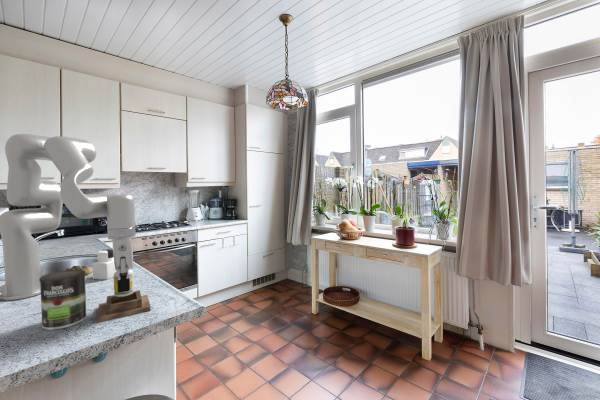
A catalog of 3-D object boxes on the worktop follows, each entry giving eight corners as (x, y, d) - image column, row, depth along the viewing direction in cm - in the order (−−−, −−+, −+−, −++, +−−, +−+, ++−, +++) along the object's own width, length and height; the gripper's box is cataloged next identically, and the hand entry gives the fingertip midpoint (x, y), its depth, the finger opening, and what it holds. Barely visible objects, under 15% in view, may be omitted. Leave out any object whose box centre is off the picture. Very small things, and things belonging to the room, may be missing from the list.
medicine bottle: (106, 274, 127) (105, 248, 127) (120, 274, 126) (119, 248, 126) (92, 279, 120) (91, 251, 120) (107, 279, 119) (106, 252, 119)
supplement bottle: (131, 296, 89) (130, 266, 88) (111, 298, 87) (110, 267, 87) (135, 290, 94) (134, 262, 93) (117, 292, 92) (116, 263, 92)
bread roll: (55, 278, 121) (56, 267, 121) (74, 274, 132) (75, 263, 132) (82, 279, 122) (83, 267, 122) (98, 274, 133) (99, 264, 133)
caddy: (96, 322, 82) (96, 309, 82) (99, 307, 92) (98, 296, 92) (150, 310, 89) (150, 299, 89) (147, 298, 99) (147, 287, 99)
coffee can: (81, 325, 80) (79, 277, 79) (34, 333, 76) (32, 282, 75) (91, 311, 89) (89, 267, 89) (50, 317, 85) (48, 271, 84)
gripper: (136, 235, 84) (138, 294, 85) (134, 228, 99) (135, 279, 100) (106, 238, 80) (109, 300, 81) (108, 230, 95) (110, 283, 95)
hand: (123, 287), depth 90 cm, fingers closed on supplement bottle, 5 cm apart
